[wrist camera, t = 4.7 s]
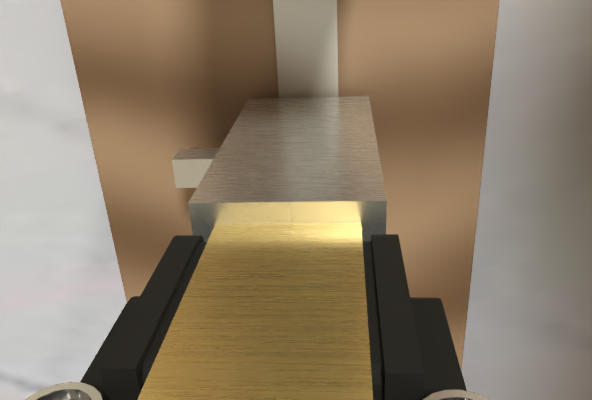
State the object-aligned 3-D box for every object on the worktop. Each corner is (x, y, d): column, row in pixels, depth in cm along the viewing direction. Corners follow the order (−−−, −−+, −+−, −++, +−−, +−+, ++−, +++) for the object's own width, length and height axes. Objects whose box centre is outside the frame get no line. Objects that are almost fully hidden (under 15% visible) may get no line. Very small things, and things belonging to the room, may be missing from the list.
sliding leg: (178, 101, 19) (-101, 379, 7) (368, 95, 18) (419, 389, 6) (193, 207, 20) (-9, 574, 9) (368, 205, 20) (406, 595, 8)
